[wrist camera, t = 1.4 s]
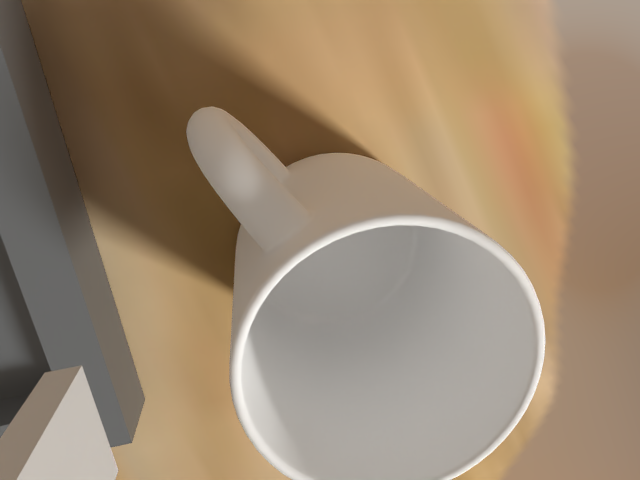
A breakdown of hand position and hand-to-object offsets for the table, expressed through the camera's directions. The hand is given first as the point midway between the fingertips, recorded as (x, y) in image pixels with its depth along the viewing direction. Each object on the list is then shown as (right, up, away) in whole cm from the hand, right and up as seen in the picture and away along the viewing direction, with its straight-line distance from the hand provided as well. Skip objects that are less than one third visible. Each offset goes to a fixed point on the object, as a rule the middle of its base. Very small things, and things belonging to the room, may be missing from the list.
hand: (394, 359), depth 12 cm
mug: (-2, +4, +11) cm, 12 cm away
